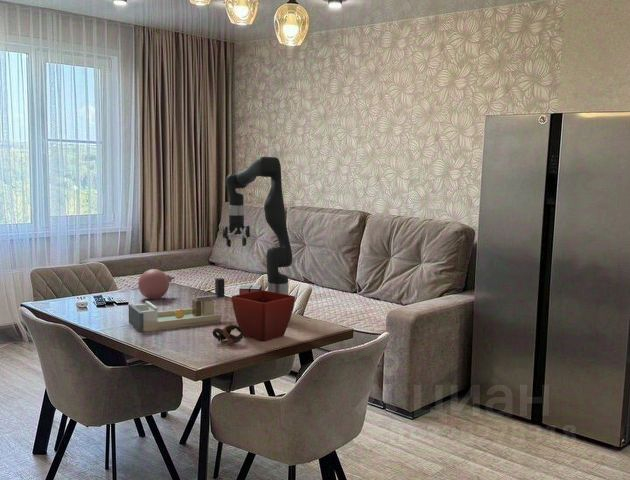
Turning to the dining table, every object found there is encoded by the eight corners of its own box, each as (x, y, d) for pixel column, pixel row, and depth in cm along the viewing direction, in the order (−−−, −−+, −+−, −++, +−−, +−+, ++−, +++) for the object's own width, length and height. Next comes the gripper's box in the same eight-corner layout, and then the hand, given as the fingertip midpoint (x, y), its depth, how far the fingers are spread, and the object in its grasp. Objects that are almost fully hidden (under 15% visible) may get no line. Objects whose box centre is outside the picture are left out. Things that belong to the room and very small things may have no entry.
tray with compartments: (221, 322, 281) (221, 302, 279) (139, 332, 262) (139, 310, 261) (206, 313, 296) (206, 294, 295) (128, 322, 278) (128, 301, 276)
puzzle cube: (259, 309, 308) (259, 289, 307) (239, 308, 308) (239, 288, 307) (261, 304, 318) (261, 285, 317) (241, 304, 318) (242, 284, 317)
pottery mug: (240, 340, 256) (245, 325, 252) (238, 356, 248) (243, 341, 244) (211, 333, 253) (216, 318, 249) (208, 349, 246) (213, 334, 241)
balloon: (182, 298, 329) (182, 269, 327) (147, 303, 315) (147, 272, 313) (167, 293, 340) (167, 265, 338) (133, 298, 326) (132, 268, 325)
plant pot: (262, 327, 274) (263, 289, 272) (295, 336, 262) (296, 296, 260) (229, 336, 259) (230, 296, 257) (263, 345, 247) (264, 303, 245)
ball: (186, 319, 279) (186, 309, 279) (176, 320, 277) (176, 310, 276) (182, 317, 283) (182, 307, 282) (173, 318, 281) (172, 308, 280)
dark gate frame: (225, 313, 288) (225, 279, 286) (196, 317, 281) (196, 281, 279) (220, 311, 292) (221, 277, 291) (192, 314, 285) (192, 279, 284)
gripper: (227, 215, 311) (227, 247, 312) (252, 214, 319) (252, 246, 321) (220, 214, 317) (220, 246, 318) (245, 213, 325) (245, 244, 327)
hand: (236, 246), depth 320 cm, fingers open, 8 cm apart
